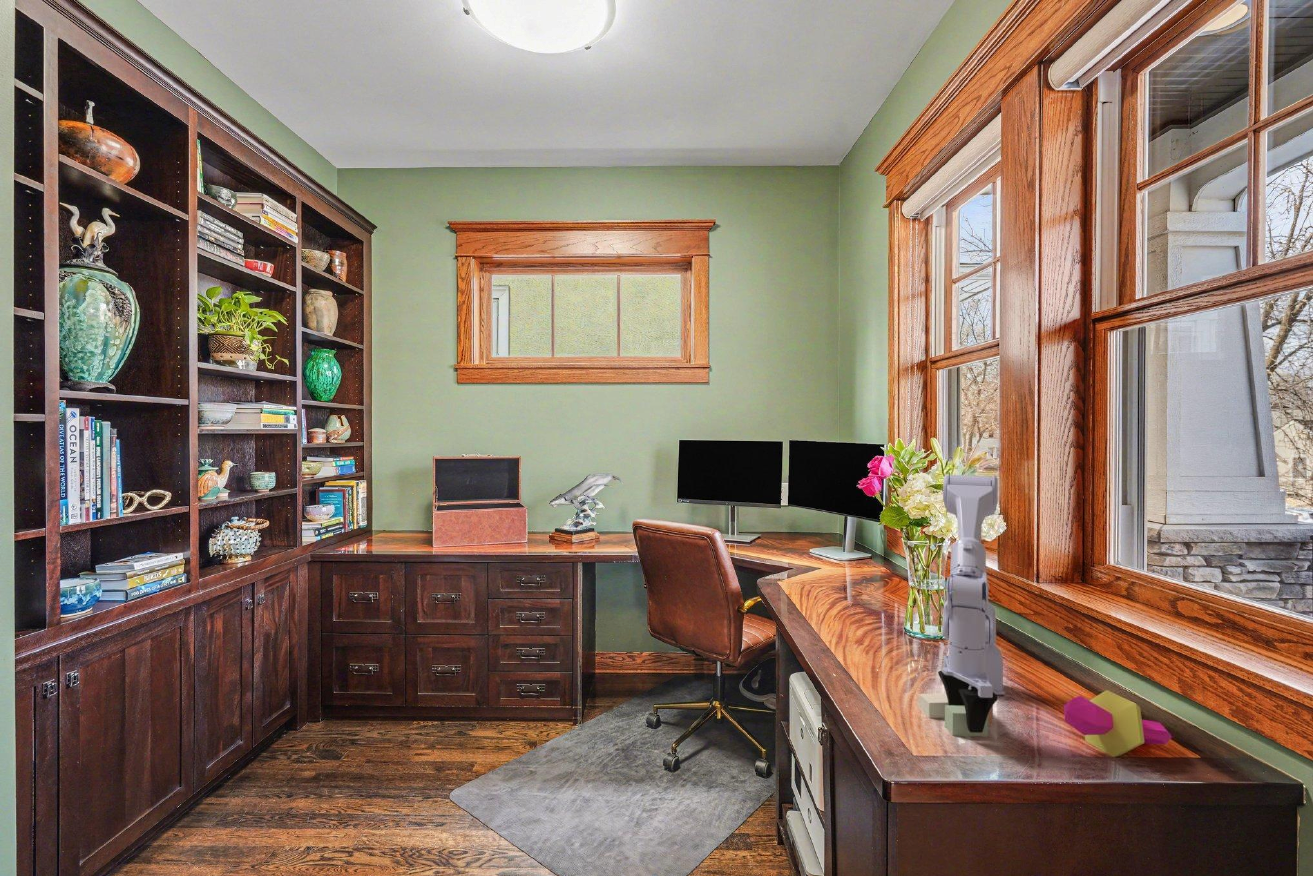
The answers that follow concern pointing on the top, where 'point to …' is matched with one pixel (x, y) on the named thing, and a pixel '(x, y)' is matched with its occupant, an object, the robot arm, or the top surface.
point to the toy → (1113, 723)
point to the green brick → (960, 722)
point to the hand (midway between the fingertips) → (966, 722)
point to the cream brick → (933, 705)
